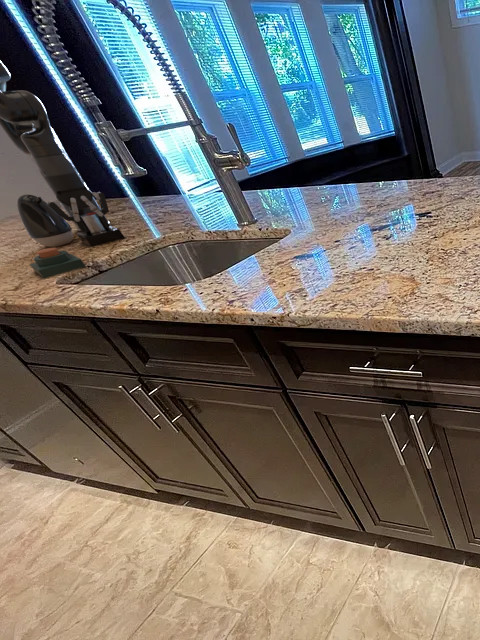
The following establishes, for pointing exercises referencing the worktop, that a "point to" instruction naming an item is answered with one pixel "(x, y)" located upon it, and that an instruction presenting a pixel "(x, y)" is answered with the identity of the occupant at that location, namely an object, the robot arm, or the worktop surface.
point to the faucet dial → (92, 222)
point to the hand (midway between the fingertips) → (97, 230)
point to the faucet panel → (101, 236)
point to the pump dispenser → (43, 222)
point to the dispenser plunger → (48, 252)
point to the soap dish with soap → (56, 264)
